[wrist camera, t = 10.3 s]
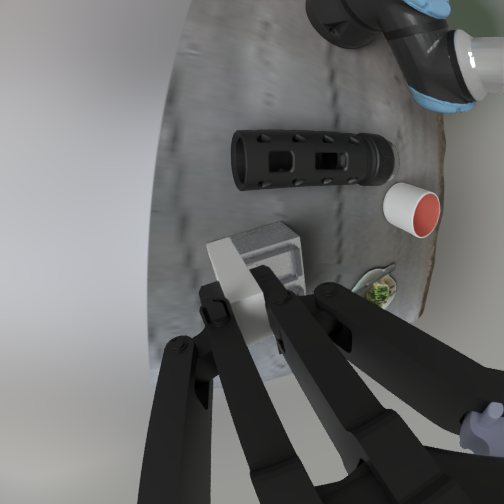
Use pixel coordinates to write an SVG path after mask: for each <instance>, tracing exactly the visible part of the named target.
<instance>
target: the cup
mask: <svg viewBox="0 0 504 504" xmlns="http://www.w3.org/2000/svg"><path fill="white" fill-rule="evenodd" d="M383 211H384V215H385V217H386V219H387V221H388V222H389V223H391V224H393V225H395V226H397V227H399V228H401V229H403V230H405V231H407V232H409V233H410V234H412V235H414V236H416V237H418V238H424V237H426V236H428V235H429V234H430V233H431V232H432V231H433V230H434V228H435V226H436V224H437V222H438V219H439V215H440V202H439V199H438V197H437V195H436V194H435V193H433V192H430V191H427V190H424V189H421V188H418V187H415V186H412V185H409V184H406V183H397V184H394V185H393V186H392V187H391V188H390V189H389V190H388V191H387V193H386V195H385V198H384V202H383Z"/></svg>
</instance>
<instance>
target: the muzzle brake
mask: <svg viewBox="0 0 504 504" xmlns="http://www.w3.org/2000/svg"><path fill="white" fill-rule="evenodd" d="M231 166H232V173H233V178H234V182H235V184H236V187H237V188H238V189H239V190H240V191H247V190H259V189H272V188H286V187H303V186H323V185H351V184H356V183H357V184H359V185H362V186H378V185H382V184H384V183H386V182H387V181H390V180H391V179H393V178H394V177H395V175H396V174H397V172H398V169H399V155H398V152H397V149H396V148H395V146H394V145H393V144H392V143H391V142H390V141H388V140H386V139H385V138H384V137H382V136H380V135H377V134H369V133H359V134H356V135H355V134H352V133H339V132H328V131H309V130H237V131H236V132H235V133H234V135H233V138H232V143H231ZM279 170H282V171H279Z"/></svg>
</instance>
